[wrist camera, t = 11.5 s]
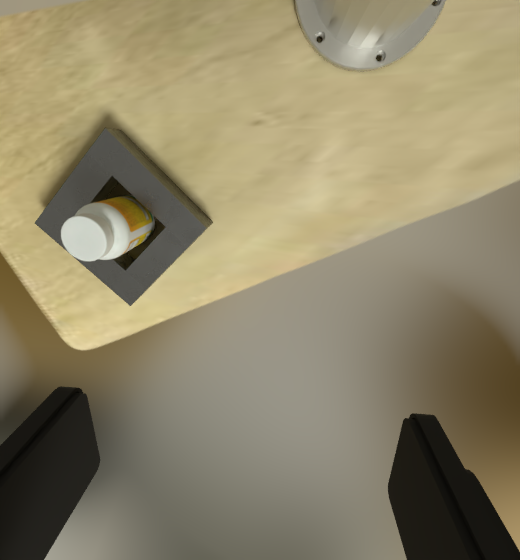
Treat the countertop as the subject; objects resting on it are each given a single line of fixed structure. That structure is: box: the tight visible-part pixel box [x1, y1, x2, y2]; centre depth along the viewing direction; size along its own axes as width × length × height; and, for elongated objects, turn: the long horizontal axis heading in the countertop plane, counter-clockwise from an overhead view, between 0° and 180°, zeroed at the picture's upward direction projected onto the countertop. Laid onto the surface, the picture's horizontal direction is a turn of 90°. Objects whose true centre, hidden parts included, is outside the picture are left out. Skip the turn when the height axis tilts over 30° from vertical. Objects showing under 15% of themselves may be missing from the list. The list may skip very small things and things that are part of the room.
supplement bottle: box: [61, 195, 155, 261], centre depth 32 cm, size 5×5×10 cm
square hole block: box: [35, 128, 213, 306], centre depth 35 cm, size 13×13×3 cm
